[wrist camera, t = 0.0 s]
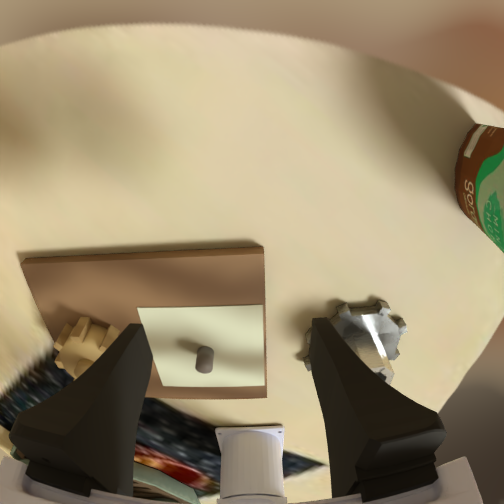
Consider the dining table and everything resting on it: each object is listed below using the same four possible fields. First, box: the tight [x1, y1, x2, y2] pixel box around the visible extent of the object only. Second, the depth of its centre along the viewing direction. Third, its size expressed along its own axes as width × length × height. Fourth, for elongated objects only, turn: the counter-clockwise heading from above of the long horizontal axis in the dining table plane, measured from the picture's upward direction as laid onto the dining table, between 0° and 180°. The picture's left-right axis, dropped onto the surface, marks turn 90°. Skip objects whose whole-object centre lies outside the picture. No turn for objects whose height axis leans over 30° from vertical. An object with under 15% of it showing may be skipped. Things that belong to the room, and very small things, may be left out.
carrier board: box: [20, 247, 267, 399], centre depth 25 cm, size 16×20×4 cm
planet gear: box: [304, 300, 407, 385], centre depth 25 cm, size 9×9×5 cm
